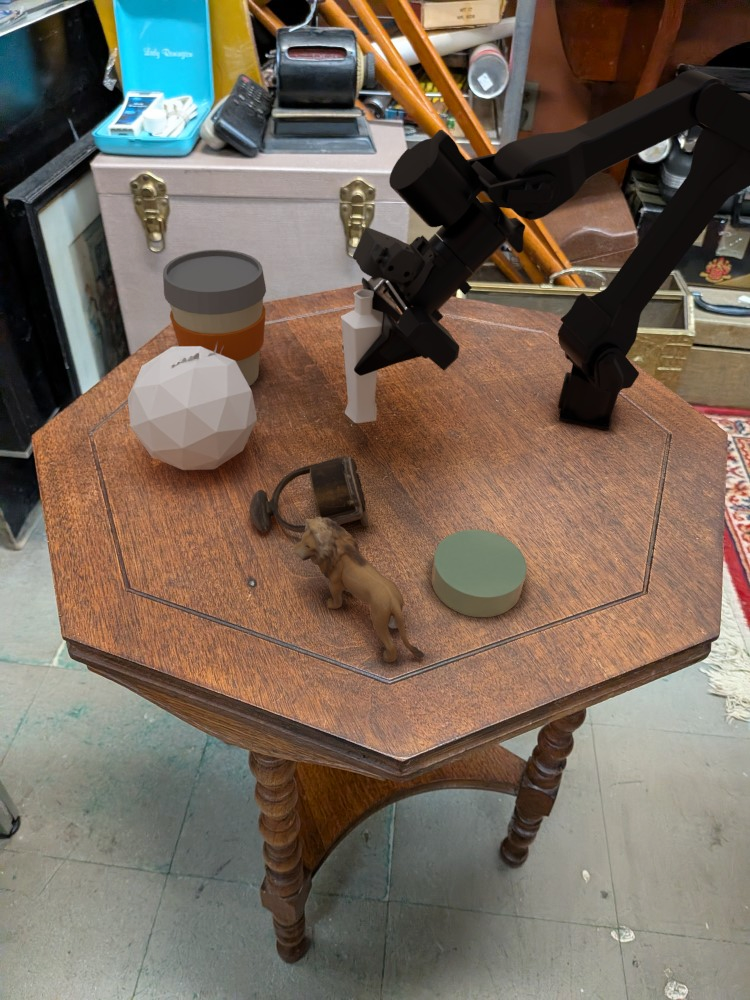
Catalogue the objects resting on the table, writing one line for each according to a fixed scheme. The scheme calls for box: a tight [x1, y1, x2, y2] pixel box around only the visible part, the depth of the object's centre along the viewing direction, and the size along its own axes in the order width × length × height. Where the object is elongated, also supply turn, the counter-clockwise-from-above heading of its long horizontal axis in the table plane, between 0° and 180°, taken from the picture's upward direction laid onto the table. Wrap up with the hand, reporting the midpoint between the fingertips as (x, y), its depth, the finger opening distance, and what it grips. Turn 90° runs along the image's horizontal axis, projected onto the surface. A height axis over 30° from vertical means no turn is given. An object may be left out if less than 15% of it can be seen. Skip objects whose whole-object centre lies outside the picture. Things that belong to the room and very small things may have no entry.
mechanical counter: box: [249, 455, 369, 534], centre depth 76 cm, size 7×13×10 cm
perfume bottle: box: [340, 288, 383, 424], centre depth 79 cm, size 5×4×15 cm
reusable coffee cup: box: [162, 249, 267, 387], centre depth 94 cm, size 13×13×15 cm
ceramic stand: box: [430, 529, 528, 618], centre depth 71 cm, size 9×9×3 cm
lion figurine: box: [292, 516, 426, 663], centre depth 66 cm, size 15×5×9 cm, turn 50°
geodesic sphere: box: [127, 343, 258, 471], centre depth 81 cm, size 15×14×14 cm
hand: (350, 361), depth 79 cm, fingers closed on perfume bottle, 4 cm apart
